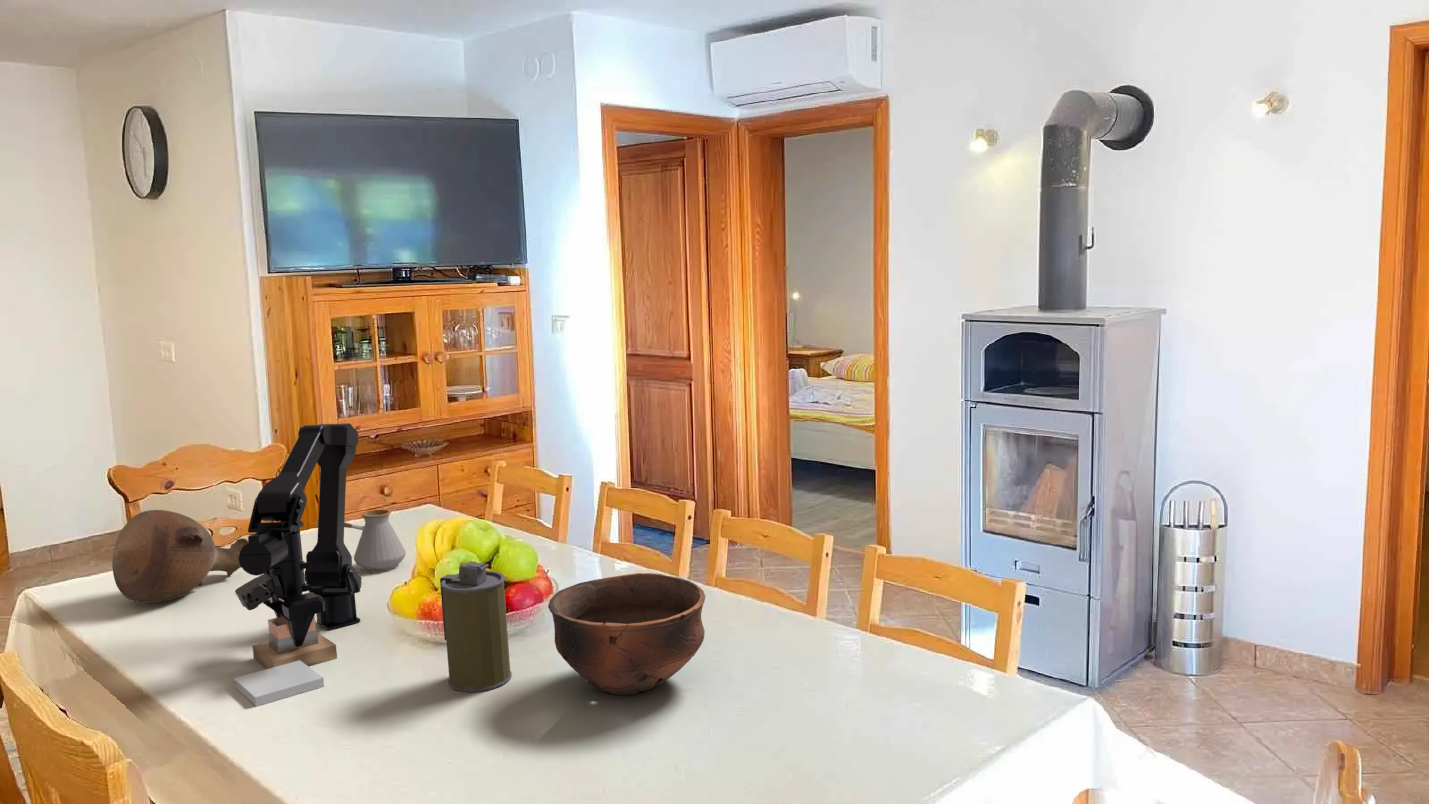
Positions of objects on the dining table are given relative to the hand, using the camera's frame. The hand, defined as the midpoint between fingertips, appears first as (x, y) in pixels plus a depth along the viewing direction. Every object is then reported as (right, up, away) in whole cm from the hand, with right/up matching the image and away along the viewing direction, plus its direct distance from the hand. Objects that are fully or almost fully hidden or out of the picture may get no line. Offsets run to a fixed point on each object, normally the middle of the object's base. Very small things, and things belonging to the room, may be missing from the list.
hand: (293, 642), depth 192 cm
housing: (0, -1, 0) cm, 0 cm away
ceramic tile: (+2, -5, -12) cm, 13 cm away
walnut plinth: (0, -3, 0) cm, 3 cm away
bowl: (+62, -3, -17) cm, 64 cm away
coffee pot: (-4, +4, +51) cm, 52 cm away
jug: (-40, +1, +42) cm, 58 cm away
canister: (+36, -4, -12) cm, 38 cm away
